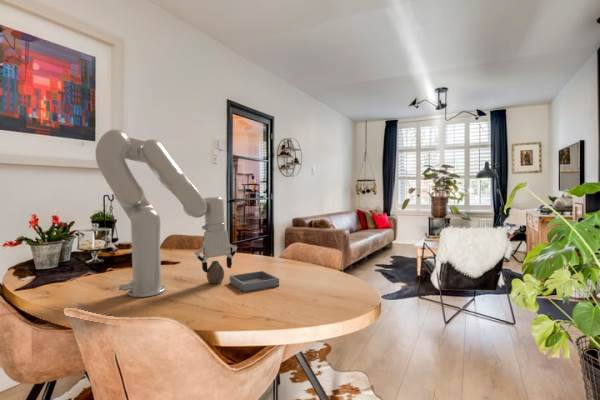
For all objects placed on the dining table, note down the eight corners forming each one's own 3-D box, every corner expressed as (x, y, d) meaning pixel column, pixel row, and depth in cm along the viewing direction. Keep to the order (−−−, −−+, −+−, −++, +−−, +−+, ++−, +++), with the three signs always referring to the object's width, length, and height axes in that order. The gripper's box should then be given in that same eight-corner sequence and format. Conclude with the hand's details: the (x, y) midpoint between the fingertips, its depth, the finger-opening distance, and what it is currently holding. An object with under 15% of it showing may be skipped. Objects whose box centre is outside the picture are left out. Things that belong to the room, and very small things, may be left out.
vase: (221, 285, 131) (221, 263, 131) (204, 285, 131) (204, 263, 131) (226, 280, 138) (225, 259, 138) (209, 280, 138) (209, 259, 138)
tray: (243, 292, 122) (243, 284, 121) (229, 283, 134) (229, 275, 134) (279, 286, 129) (279, 278, 129) (262, 277, 142) (262, 270, 142)
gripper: (195, 231, 126) (198, 275, 127) (239, 226, 135) (241, 267, 136) (191, 229, 133) (193, 271, 133) (232, 224, 142) (234, 264, 143)
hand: (217, 269), depth 135 cm, fingers open, 9 cm apart
